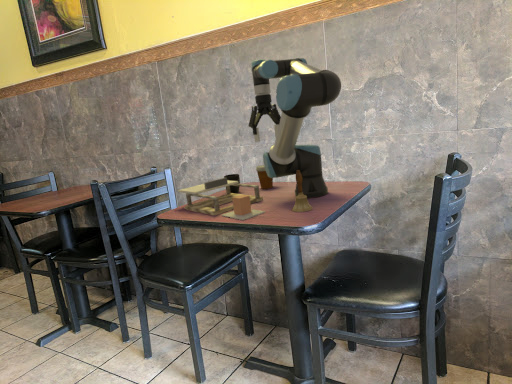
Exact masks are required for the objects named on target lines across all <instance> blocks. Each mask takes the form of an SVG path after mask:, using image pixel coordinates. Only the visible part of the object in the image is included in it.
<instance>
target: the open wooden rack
mask: <svg viewBox="0 0 512 384" xmlns="http://www.w3.org/2000/svg"><path fill="white" fill-rule="evenodd" d="M232 186H240V187H244V188H251V189H252V188H253V189H254V195H250V194H247V195H248V196H250V204H252V205H253V204H255V203H258V202H261V200H262V201H264V197H263V196H261V195H260V188H259V187H260V186H259V185H257V184H256V185H255V184H246V183H240V184H234V185H232ZM225 192H226V194H224V195H220V196H219V195H218V196H215V195H214V196H213V195H207V194H202V193H199V194H196V195H195V194H188V193H185V195H186V196H185V197H186V198H185V199H186V202H187V205H185V206H184V209H185V210H186V211H191V212H195V213H200V214H206V215H210V216H217V215H221V214H225V213H228V212H231V211H232V210H233V211H234V206H233V204H232V205H227V206H225V207H222V208H221V207H220V206H221V205H224V204H227V203H231V202H233V199H232V197H236V196H239V195H244V193H243V194H242V193H231V192H230V186H226V187H225ZM192 197H197V198H203V199H205V200H202V201H199V202H194V203H192ZM213 207H214V208H213Z"/></svg>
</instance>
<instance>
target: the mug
mask: <svg viewBox="0 0 512 384" xmlns="http://www.w3.org/2000/svg"><path fill="white" fill-rule="evenodd" d="M223 178H227V180H230V181H238V183H237V184H241V179H240V174H239V173H230V174H226V175H224V176H223ZM240 188H241V186H232V185H230V192H231V193H235V194H239V193H240Z"/></svg>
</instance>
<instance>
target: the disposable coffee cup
mask: <svg viewBox="0 0 512 384" xmlns="http://www.w3.org/2000/svg"><path fill="white" fill-rule="evenodd" d="M255 170H256V172H257V177H258V181H259V185H260V188H261V189H262V190H268V189H272V188H273V187H274V185H273V183H274V181H273V179H274V178H270V177H268V175H267V173H266V170H265V167H264V164H262V165H257V166H256V168H255Z"/></svg>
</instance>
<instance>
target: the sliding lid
mask: <svg viewBox="0 0 512 384" xmlns="http://www.w3.org/2000/svg"><path fill="white" fill-rule="evenodd" d="M237 183H238V181H230V180H227V178H224V177H222V178H217V179H214V180H210V181H207V182H204V183H202V184H198V185H193V186H190V187H185V188H181V189H178V190H177V191H178V193H180V194H181V193H182V194H186V193H188V194H195V195H196V194H202V193H203V194H204V193H207V192H211V191H213V190H218V189H221V188H226V186H230V185H234V184H237Z"/></svg>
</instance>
